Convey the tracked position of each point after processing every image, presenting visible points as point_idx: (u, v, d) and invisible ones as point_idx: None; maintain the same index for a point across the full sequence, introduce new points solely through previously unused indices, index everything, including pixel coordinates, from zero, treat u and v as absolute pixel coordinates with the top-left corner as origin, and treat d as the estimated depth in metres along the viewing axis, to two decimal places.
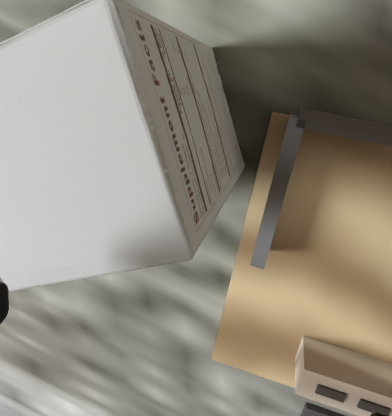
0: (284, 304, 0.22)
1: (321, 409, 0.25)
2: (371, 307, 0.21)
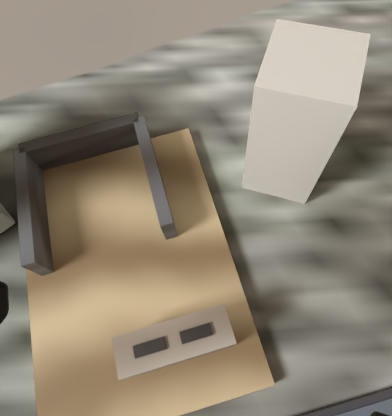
0: (92, 316, 0.21)
1: None
2: (164, 269, 0.22)
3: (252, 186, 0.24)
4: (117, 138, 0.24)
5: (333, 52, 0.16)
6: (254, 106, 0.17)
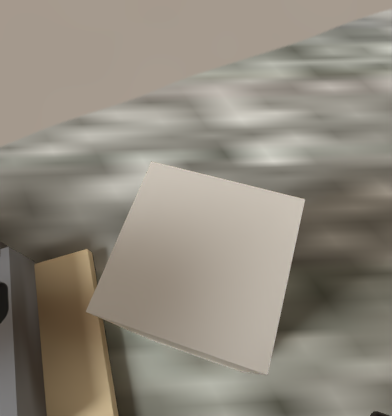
0: None
1: None
2: None
3: (167, 345, 0.17)
4: None
5: (237, 237, 0.09)
6: (106, 320, 0.10)
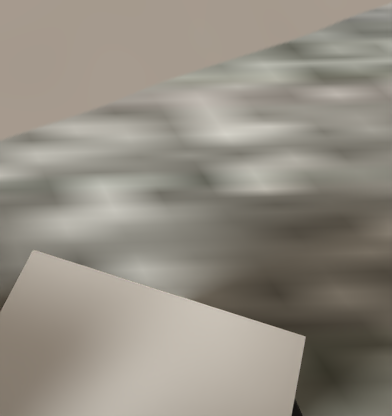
0: None
1: None
2: None
3: None
4: None
5: None
6: None
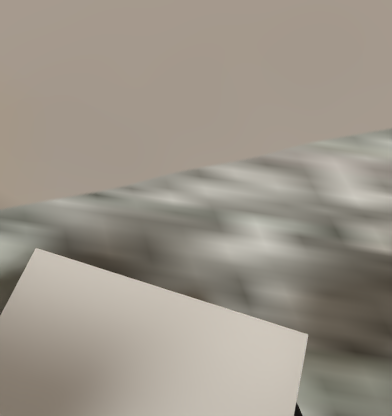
0: None
1: None
2: None
3: None
4: None
5: None
6: None
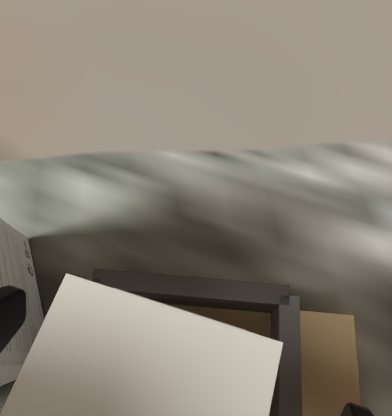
0: None
1: None
2: None
3: None
4: (241, 305, 0.15)
5: (180, 409, 0.06)
6: None
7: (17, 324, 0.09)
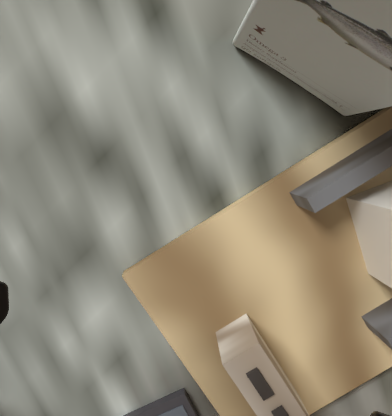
0: (260, 270, 0.19)
1: (192, 404, 0.20)
2: (327, 325, 0.19)
3: (354, 212, 0.18)
4: None
5: None
6: None
7: None
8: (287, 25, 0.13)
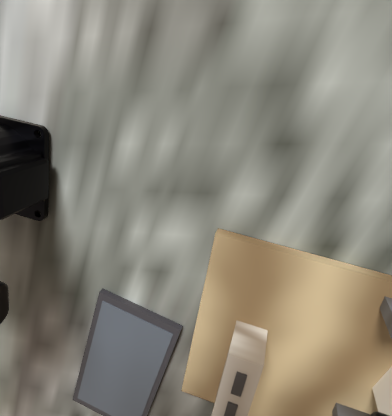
0: (306, 317, 0.21)
1: (177, 338, 0.25)
2: (309, 385, 0.22)
3: None
4: None
5: None
6: None
7: None
8: None
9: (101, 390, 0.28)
